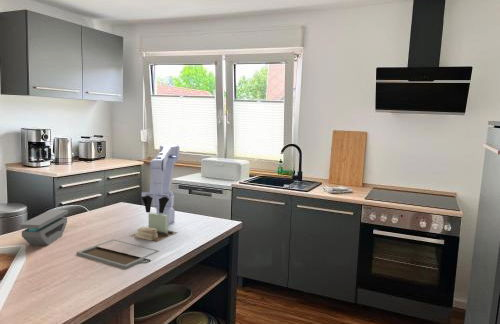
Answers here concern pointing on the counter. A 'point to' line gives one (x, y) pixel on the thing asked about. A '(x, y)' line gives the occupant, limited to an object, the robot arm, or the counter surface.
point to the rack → (160, 235)
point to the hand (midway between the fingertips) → (154, 212)
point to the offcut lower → (146, 236)
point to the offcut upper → (147, 231)
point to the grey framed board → (114, 256)
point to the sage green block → (158, 222)
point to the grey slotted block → (45, 227)
